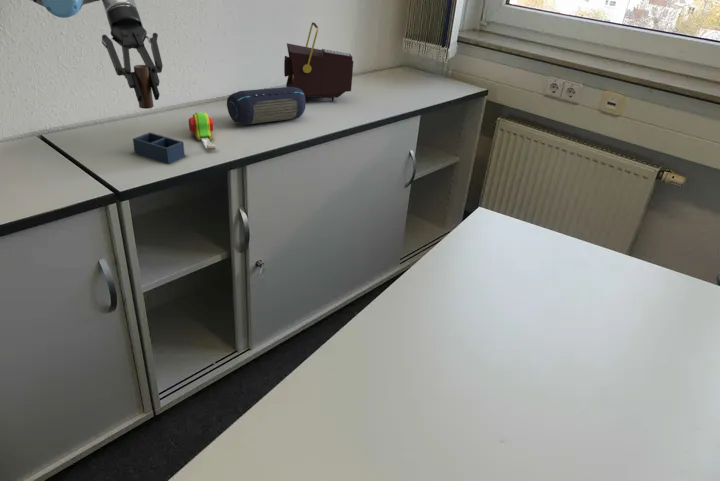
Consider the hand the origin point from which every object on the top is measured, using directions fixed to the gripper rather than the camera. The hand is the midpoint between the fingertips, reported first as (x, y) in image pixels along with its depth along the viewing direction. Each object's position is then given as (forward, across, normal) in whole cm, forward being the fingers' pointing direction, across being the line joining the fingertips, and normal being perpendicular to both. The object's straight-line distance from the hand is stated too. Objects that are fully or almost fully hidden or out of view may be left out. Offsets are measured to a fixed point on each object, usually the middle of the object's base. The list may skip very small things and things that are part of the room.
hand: (148, 97), depth 132 cm
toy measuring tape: (+6, +15, +16) cm, 23 cm away
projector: (-11, +65, +34) cm, 74 cm away
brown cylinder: (0, 0, +5) cm, 5 cm away
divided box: (+10, +1, +12) cm, 16 cm away
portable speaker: (0, +39, +22) cm, 44 cm away
